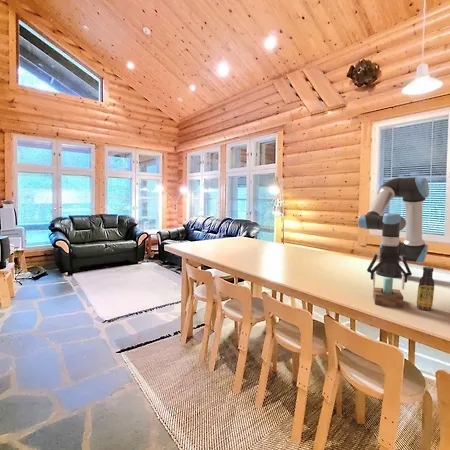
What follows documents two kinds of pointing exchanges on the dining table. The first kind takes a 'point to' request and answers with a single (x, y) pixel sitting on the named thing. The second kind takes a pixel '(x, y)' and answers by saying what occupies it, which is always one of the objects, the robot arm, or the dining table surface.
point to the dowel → (387, 285)
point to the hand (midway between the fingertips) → (387, 287)
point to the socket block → (388, 297)
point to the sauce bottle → (426, 290)
